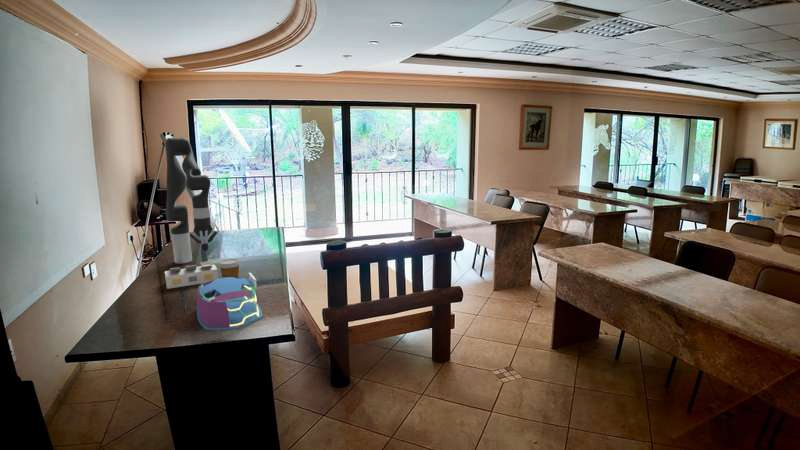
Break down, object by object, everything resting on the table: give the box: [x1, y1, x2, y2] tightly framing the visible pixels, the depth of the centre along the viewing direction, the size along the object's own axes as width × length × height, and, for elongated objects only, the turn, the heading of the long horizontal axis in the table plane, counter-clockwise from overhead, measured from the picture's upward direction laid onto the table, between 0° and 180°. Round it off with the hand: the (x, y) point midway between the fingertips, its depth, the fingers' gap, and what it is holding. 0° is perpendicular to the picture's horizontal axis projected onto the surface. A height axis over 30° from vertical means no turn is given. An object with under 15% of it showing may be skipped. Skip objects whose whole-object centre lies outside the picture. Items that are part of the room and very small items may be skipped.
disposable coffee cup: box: [218, 258, 240, 278], centre depth 212 cm, size 10×10×12 cm
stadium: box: [196, 272, 263, 331], centre depth 179 cm, size 35×24×14 cm
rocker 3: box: [199, 260, 213, 269], centre depth 220 cm, size 8×4×1 cm, turn 30°
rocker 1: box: [169, 267, 182, 272], centre depth 213 cm, size 8×4×1 cm, turn 30°
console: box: [164, 264, 219, 290], centre depth 218 cm, size 10×23×7 cm, turn 120°
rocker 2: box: [184, 264, 197, 270], centre depth 217 cm, size 8×4×1 cm, turn 30°
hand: (205, 250), depth 216 cm, fingers closed
